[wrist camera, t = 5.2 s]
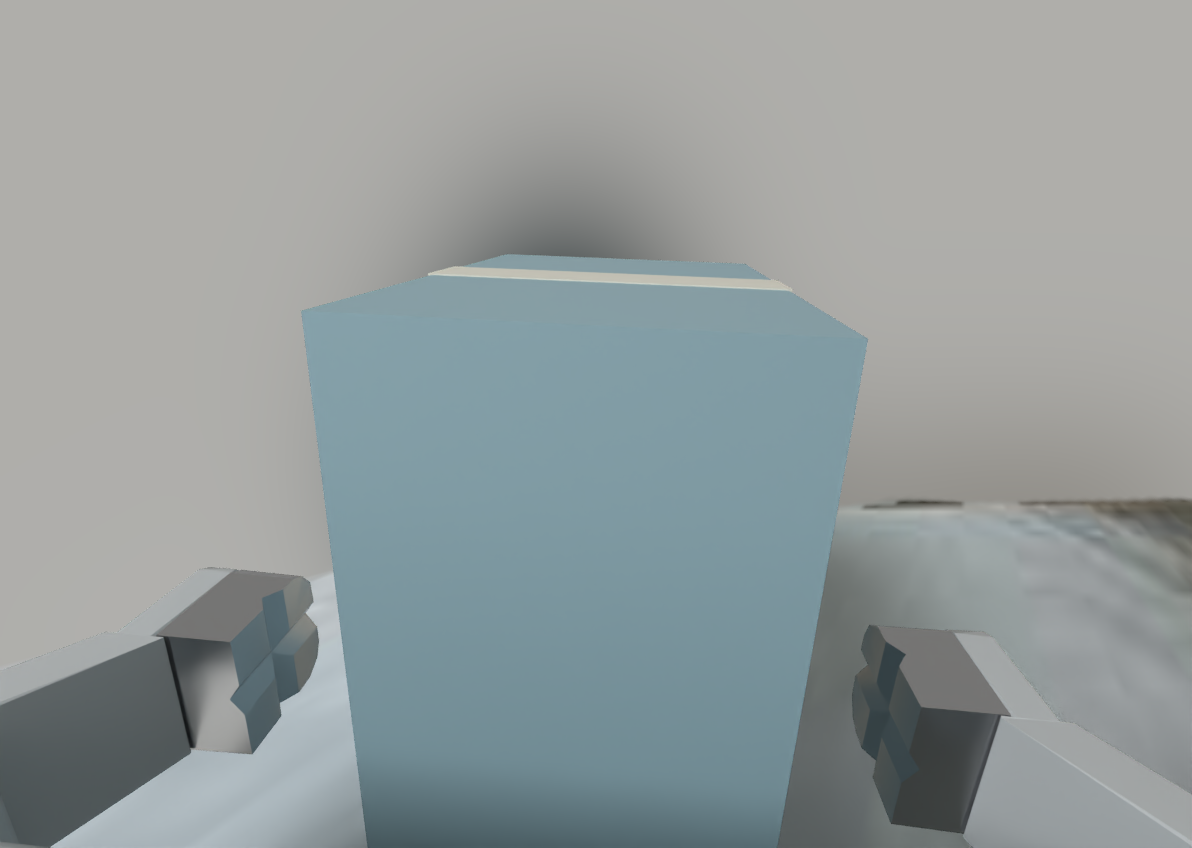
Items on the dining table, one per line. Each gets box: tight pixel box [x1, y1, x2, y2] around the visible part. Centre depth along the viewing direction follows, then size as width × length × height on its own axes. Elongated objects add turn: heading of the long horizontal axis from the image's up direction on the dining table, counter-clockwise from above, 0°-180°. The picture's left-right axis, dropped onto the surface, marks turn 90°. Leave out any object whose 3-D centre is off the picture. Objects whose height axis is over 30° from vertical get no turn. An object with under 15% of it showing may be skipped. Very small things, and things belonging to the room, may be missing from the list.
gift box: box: [301, 254, 868, 848], centre depth 11 cm, size 5×8×12 cm, turn 174°
